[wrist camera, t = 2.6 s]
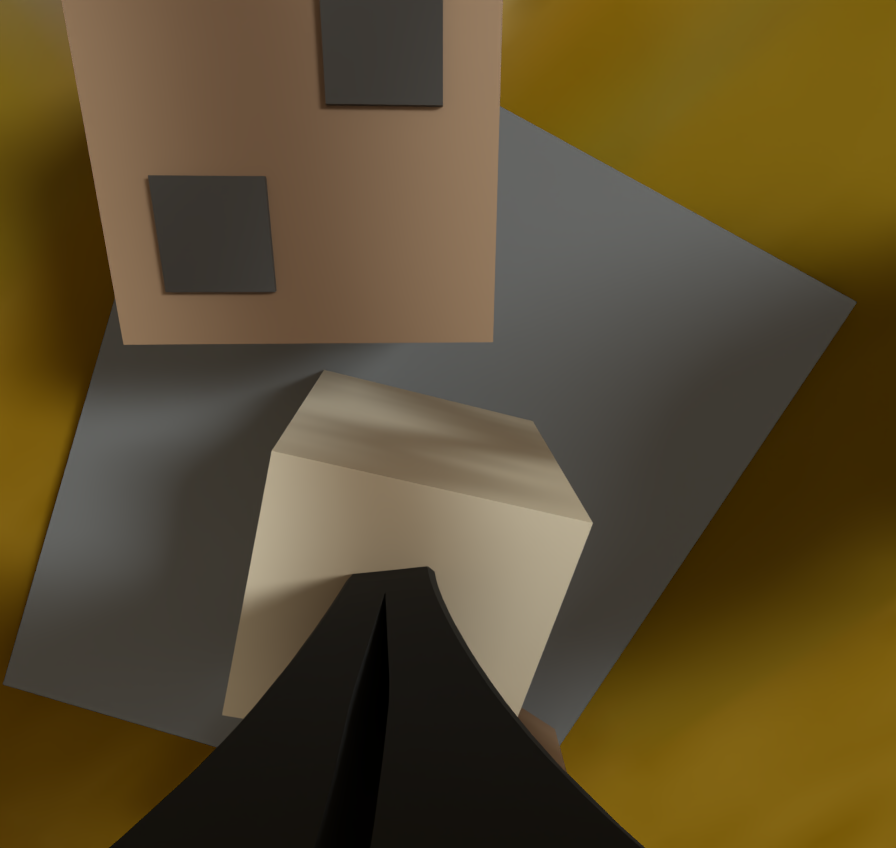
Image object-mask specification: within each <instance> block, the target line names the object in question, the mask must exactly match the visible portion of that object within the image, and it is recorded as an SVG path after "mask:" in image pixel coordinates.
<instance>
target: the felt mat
mask: <svg viewBox="0 0 896 848" xmlns="http://www.w3.org/2000/svg"><path fill="white" fill-rule="evenodd" d="M856 303H857V302H856V301H854V300H852V299H851V298H849V297H847V296H845V295H843V294H842V293H840V292H838V291H836V290H834V289H832V288H831V287H829V286H827V285H825V284H823V283H821V282H820V281H818V280H816V279H814V278H812V277H810V276H809V275H807V274H805V273H803V272H801V271H800V270H798V269H796V268H794V267H792V266H790V265H789V264H787V263H785V262H783V261H781V260H779V259H778V258H776V257H774V256H772V255H770V254H769V253H767V252H765V251H763V250H761V249H759V248H758V247H756V246H754V245H752V244H750V243H748V242H747V241H745V240H743V239H741V238H739V237H738V236H736V235H734V234H732V233H730V232H728V231H727V230H725V229H723V228H721V227H719V226H717V225H716V224H714V223H712V222H710V221H708V220H706V219H705V218H703V217H701V216H699V215H697V214H696V213H694V212H692V211H690V210H688V209H686V208H685V207H683V206H681V205H679V204H677V203H675V202H674V201H672V200H670V199H668V198H666V197H665V196H663V195H661V194H659V193H657V192H655V191H654V190H652V189H650V188H648V187H646V186H644V185H643V184H641V183H639V182H637V181H635V180H634V179H632V178H630V177H628V176H626V175H624V174H623V173H621V172H619V171H617V170H615V169H613V168H612V167H610V166H608V165H606V164H604V163H603V162H601V161H599V160H597V159H595V158H593V157H592V156H590V155H588V154H586V153H584V152H582V151H581V150H579V149H577V148H575V147H573V146H571V145H570V144H568V143H566V142H564V141H562V140H561V139H559V138H557V137H555V136H553V135H551V134H550V133H548V132H546V131H544V130H542V129H540V128H539V127H537V126H535V125H533V124H531V123H530V122H528V121H526V120H524V119H522V118H520V117H519V116H517V115H515V114H513V113H511V112H509V111H508V110H506V109H504V108H502V107H500V114H499V150H498V185H497V220H496V256H495V291H494V327H493V342H452V343H304V344H156V345H124V344H123V339H122V333H121V328H120V322H119V317H118V311H117V306H116V300H114V303H113V307H112V310H111V313H110V317H109V320H108V324H107V327H106V331H105V334H104V338H103V341H102V344H101V348H100V351H99V355H98V358H97V362H96V365H95V369H94V372H93V375H92V379H91V382H90V386H89V389H88V393H87V396H86V400H85V403H84V406H83V410H82V413H81V417H80V420H79V424H78V427H77V431H76V434H75V437H74V441H73V444H72V448H71V451H70V455H69V458H68V462H67V465H66V468H65V472H64V475H63V479H62V482H61V486H60V489H59V493H58V496H57V500H56V503H55V506H54V510H53V513H52V517H51V520H50V524H49V527H48V531H47V534H46V537H45V541H44V544H43V548H42V551H41V555H40V558H39V562H38V565H37V568H36V572H35V575H34V579H33V582H32V586H31V589H30V593H29V596H28V599H27V603H26V606H25V610H24V613H23V617H22V620H21V624H20V627H19V630H18V634H17V637H16V641H15V644H14V648H13V651H12V655H11V658H10V661H9V665H8V668H7V672H6V675H5V679H4V682H3V685H6V686H10V687H13V688H17V689H20V690H23V691H27V692H30V693H34V694H37V695H40V696H44V697H47V698H51V699H54V700H57V701H61V702H64V703H68V704H71V705H74V706H78V707H81V708H85V709H88V710H91V711H95V712H98V713H102V714H105V715H108V716H112V717H115V718H119V719H122V720H126V721H129V722H132V723H136V724H139V725H143V726H146V727H149V728H153V729H156V730H160V731H163V732H166V733H170V734H173V735H177V736H180V737H183V738H187V739H190V740H194V741H197V742H200V743H204V744H207V745H211V746H214V747H218V746H219V745H220V744H221V743H222V742H223V741H224V740H225V738H226V737H227V736H228V735H229V734H230V733H231V732H232V731H233V730H234V729H235V728H236V726H237V725H238V724H239V723H240V722H241V721H242V720H243V719H242V718H236V717H230V716H224V715H222V712H223V707H224V702H225V697H226V691H227V686H228V681H229V675H230V670H231V665H232V659H233V654H234V649H235V643H236V638H237V633H238V627H239V622H240V617H241V611H242V606H243V601H244V595H245V590H246V585H247V580H248V574H249V569H250V564H251V558H252V553H253V548H254V542H255V537H256V532H257V526H258V521H259V516H260V510H261V505H262V500H263V494H264V489H265V484H266V478H267V473H268V468H269V462H270V457H271V452H272V450H273V448H274V446H275V445H276V443H277V442H278V440H279V439H280V437H281V436H282V434H283V433H284V431H285V430H286V428H287V426H288V425H289V423H290V422H291V420H292V419H293V417H294V416H295V414H296V413H297V411H298V409H299V408H300V406H301V405H302V403H303V402H304V400H305V399H306V397H307V396H308V394H309V392H310V391H311V389H312V388H313V386H314V385H315V383H316V382H317V380H318V379H319V377H320V376H321V374H322V372H323V371H324V370H327V371H331V372H335V373H339V374H343V375H347V376H351V377H355V378H360V379H364V380H368V381H372V382H376V383H380V384H384V385H388V386H392V387H396V388H400V389H404V390H408V391H412V392H416V393H421V394H425V395H429V396H433V397H437V398H441V399H445V400H449V401H453V402H457V403H461V404H465V405H469V406H473V407H477V408H482V409H486V410H490V411H494V412H498V413H502V414H506V415H510V416H514V417H518V418H522V419H526V420H530V421H533V422H534V424H535V426H536V427H537V429H538V431H539V432H540V434H541V436H542V438H543V439H544V441H545V443H546V444H547V446H548V448H549V449H550V451H551V453H552V454H553V456H554V458H555V460H556V461H557V463H558V465H559V466H560V468H561V470H562V471H563V473H564V475H565V477H566V478H567V480H568V482H569V483H570V485H571V487H572V488H573V490H574V492H575V493H576V495H577V497H578V499H579V500H580V502H581V504H582V505H583V507H584V509H585V510H586V512H587V514H588V516H589V517H590V519H591V521H592V522H593V524H592V527H591V530H590V532H589V535H588V537H587V540H586V542H585V545H584V548H583V550H582V553H581V555H580V558H579V560H578V563H577V566H576V568H575V571H574V573H573V576H572V578H571V581H570V584H569V586H568V589H567V591H566V594H565V597H564V599H563V602H562V604H561V607H560V609H559V612H558V615H557V617H556V620H555V622H554V625H553V627H552V630H551V633H550V635H549V638H548V640H547V643H546V645H545V648H544V651H543V653H542V656H541V658H540V661H539V663H538V666H537V669H536V671H535V674H534V676H533V679H532V681H531V684H530V687H529V689H528V692H527V694H526V697H525V699H524V702H523V705H522V708H523V709H525V710H526V711H528V712H529V713H531V714H532V715H534V716H536V717H537V718H539V719H540V720H542V721H543V722H545V723H546V724H548V725H549V726H551V727H552V728H554V729H555V732H556V735H557V739H558V743H559V746H560V744H561V743H562V741H563V740H564V738H565V737H566V735H567V734H568V732H569V731H570V729H571V728H572V726H573V725H574V723H575V722H576V720H577V719H578V718H579V716H580V715H581V713H582V712H583V710H584V709H585V707H586V706H587V704H588V703H589V701H590V700H591V698H592V697H593V695H594V694H595V692H596V691H597V689H598V688H599V686H600V685H601V683H602V682H603V680H604V679H605V677H606V676H607V674H608V673H609V671H610V670H611V668H612V667H613V665H614V664H615V662H616V661H617V659H618V658H619V656H620V655H621V653H622V652H623V650H624V649H625V647H626V646H627V644H628V643H629V641H630V640H631V638H632V637H633V635H634V634H635V633H636V631H637V630H638V628H639V627H640V625H641V624H642V622H643V621H644V619H645V618H646V616H647V615H648V613H649V612H650V610H651V609H652V607H653V606H654V604H655V603H656V601H657V600H658V598H659V597H660V595H661V594H662V592H663V591H664V589H665V588H666V586H667V585H668V583H669V582H670V580H671V579H672V577H673V576H674V574H675V573H676V571H677V570H678V568H679V567H680V565H681V564H682V562H683V561H684V559H685V558H686V556H687V555H688V553H689V552H690V550H691V549H692V548H693V546H694V545H695V543H696V542H697V540H698V539H699V537H700V536H701V534H702V533H703V531H704V530H705V528H706V527H707V525H708V524H709V522H710V521H711V519H712V518H713V516H714V515H715V513H716V512H717V510H718V509H719V507H720V506H721V504H722V503H723V501H724V500H725V498H726V497H727V495H728V494H729V492H730V491H731V489H732V488H733V486H734V485H735V483H736V482H737V480H738V479H739V477H740V476H741V474H742V473H743V471H744V470H745V468H746V467H747V466H748V464H749V463H750V461H751V460H752V458H753V457H754V455H755V454H756V452H757V451H758V449H759V448H760V446H761V445H762V443H763V442H764V440H765V439H766V437H767V436H768V434H769V433H770V431H771V430H772V428H773V427H774V425H775V424H776V422H777V421H778V419H779V418H780V416H781V415H782V413H783V412H784V410H785V409H786V407H787V406H788V404H789V403H790V401H791V400H792V398H793V397H794V395H795V394H796V392H797V391H798V389H799V388H800V386H801V385H802V383H803V382H804V381H805V379H806V378H807V376H808V375H809V373H810V372H811V370H812V369H813V367H814V366H815V364H816V363H817V361H818V360H819V358H820V357H821V355H822V354H823V352H824V351H825V349H826V348H827V346H828V345H829V343H830V342H831V340H832V339H833V337H834V336H835V334H836V333H837V331H838V330H839V328H840V327H841V325H842V324H843V322H844V321H845V319H846V318H847V316H848V315H849V313H850V312H851V310H852V309H853V307H854V306H855V304H856Z"/></svg>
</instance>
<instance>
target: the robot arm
mask: <svg viewBox="0 0 896 848" xmlns="http://www.w3.org/2000/svg"><path fill="white" fill-rule="evenodd" d="M110 848H645V847H643V846H642V845H641V844H640V843H639V842H638V841H637V840H636V839H635V838H633V837H632V836H631V835H630V834H629V833H628V832H627V831H626V830H624V829H623V828H622V827H621V826H620V825H619V824H618V823H617V822H616V821H615V820H614V819H613V818H612V817H611V816H610V815H609V814H608V813H607V812H606V811H605V810H604V809H603V808H602V807H601V806H600V805H599V804H598V803H597V802H596V801H595V800H594V799H593V798H592V797H591V796H590V795H589V794H588V793H587V792H586V791H585V790H584V789H583V788H582V787H581V786H580V785H579V784H578V783H577V782H576V781H575V780H574V779H573V778H572V777H571V776H570V775H569V774H568V773H566V772H565V771H564V770H563V769H562V767H561V766H560V765H559V764H558V763H557V762H556V761H555V760H554V759H553V758H552V756H551V755H550V754H549V753H548V752H547V751H546V750H545V749H544V747H543V746H542V745H541V744H540V743H539V742H538V741H537V740H536V738H535V737H534V736H533V735H532V734H531V733H530V731H529V730H528V729H527V728H526V726H525V725H524V724H523V723H522V722H521V720H520V719H519V718H518V717H517V716H516V714H515V713H514V712H513V711H512V709H511V708H510V707H509V705H508V704H507V703H506V701H505V700H504V699H503V697H502V696H501V695H500V693H499V692H498V691H497V689H496V688H495V687H494V685H493V684H492V682H491V681H490V679H489V678H488V676H487V675H486V673H485V672H484V671H483V669H482V668H481V666H480V665H479V663H478V662H477V660H476V658H475V657H474V655H473V654H472V652H471V651H470V649H469V647H468V645H467V644H466V642H465V640H464V638H463V637H462V635H461V633H460V632H459V630H458V628H457V626H456V625H455V623H454V621H453V619H452V617H451V615H450V613H449V611H448V609H447V606H446V604H445V602H444V600H443V598H442V595H441V592H440V590H439V587H438V584H437V580H436V576H435V571H433V570H432V569H431V568H429V567H428V566H424V567H415V568H406V569H397V570H387V571H377V572H367V573H357V574H352V575H351V576H350V578H349V579H348V580H347V581H346V582H345V584H344V586H343V587H342V589H341V590H340V592H339V593H338V595H337V596H336V598H335V600H334V601H333V603H332V604H331V606H330V607H329V609H328V610H327V612H326V613H325V614H324V616H323V617H322V619H321V620H320V622H319V623H318V625H317V626H316V628H315V629H314V630H313V632H312V633H311V634H310V636H309V637H308V639H307V640H306V641H305V643H304V644H303V645H302V647H301V648H300V650H299V651H298V652H297V654H296V655H295V656H294V658H293V659H292V660H291V662H290V663H289V664H288V666H287V667H286V668H285V669H284V671H283V672H282V673H281V674H280V675H279V677H278V678H277V679H276V680H275V682H274V683H273V684H272V685H271V686H270V688H269V689H268V690H267V691H266V693H265V694H264V695H263V696H262V697H261V699H260V700H259V701H258V702H257V704H256V705H255V706H254V707H253V708H252V710H251V711H250V712H249V713H248V714H247V715H246V716H245V717H244V719H243V720H242V721H241V722H240V723H239V724H238V725H237V726H236V728H235V729H234V730H233V731H232V732H231V733H230V734H229V735H228V736H227V737H226V738H225V740H224V741H223V742H222V743H221V744H220V745H219V746H218V747H217V748H216V749H215V750H214V751H213V752H212V753H211V754H210V755H209V756H208V757H207V758H206V759H205V760H204V761H203V762H202V763H201V765H200V766H199V767H198V768H197V769H195V770H194V771H193V772H192V773H191V774H190V775H189V776H188V777H187V778H186V779H185V780H184V781H183V782H182V783H181V784H180V785H178V786H177V787H176V788H175V789H174V790H173V791H172V792H171V793H170V794H169V795H167V796H166V797H165V798H164V799H163V800H162V801H161V802H160V803H159V804H158V805H156V806H155V807H154V808H153V809H152V810H151V811H150V812H149V813H148V814H147V815H145V816H144V817H143V818H142V819H141V820H140V821H139V822H138V823H137V824H136V825H134V826H133V827H132V828H131V829H130V830H129V831H128V832H127V833H126V834H125V835H124V836H122V837H121V838H120V839H119V840H118V841H117V842H115V843H114V844H113V845H112V846H111V847H110Z"/></svg>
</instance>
